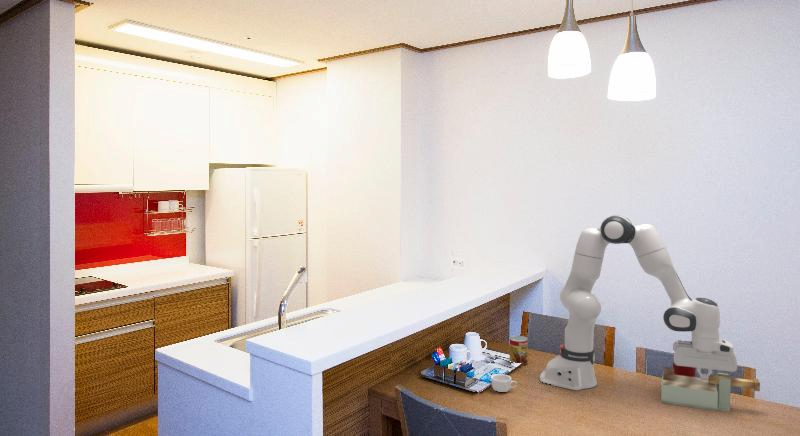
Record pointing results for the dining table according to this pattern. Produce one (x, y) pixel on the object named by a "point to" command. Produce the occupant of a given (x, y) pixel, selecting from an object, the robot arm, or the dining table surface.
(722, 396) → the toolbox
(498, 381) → the teacup
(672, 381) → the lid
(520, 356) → the canned food
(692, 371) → the canned food
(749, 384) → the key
